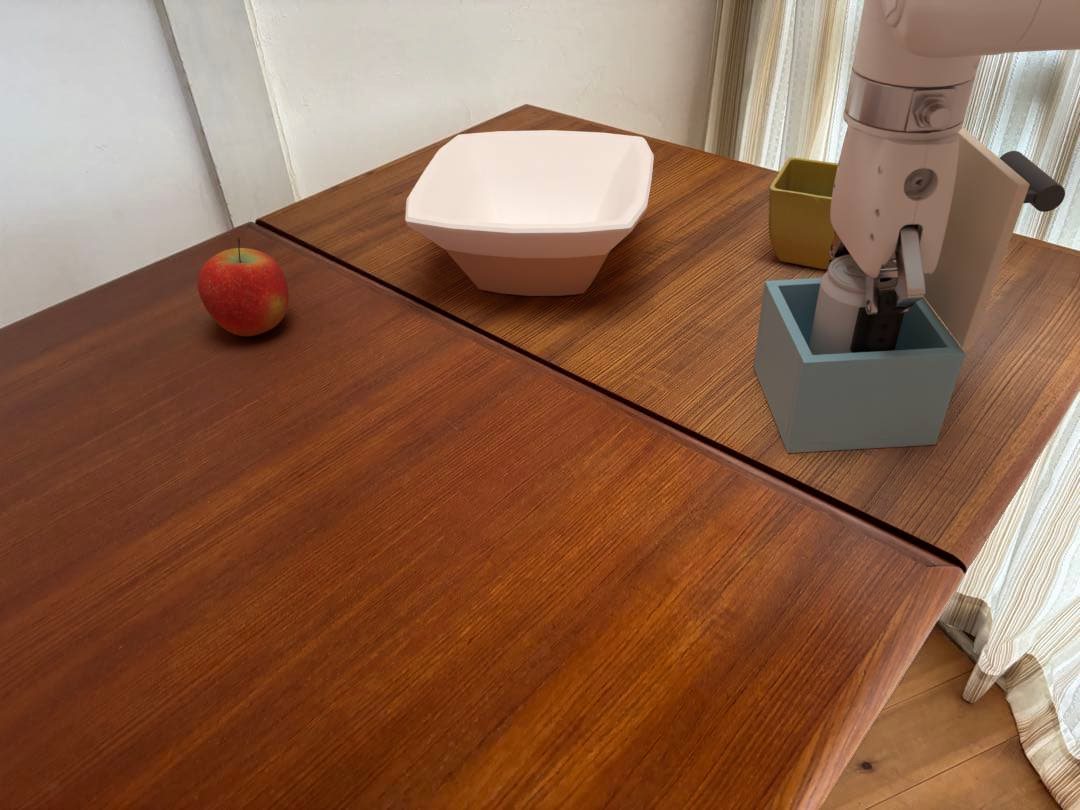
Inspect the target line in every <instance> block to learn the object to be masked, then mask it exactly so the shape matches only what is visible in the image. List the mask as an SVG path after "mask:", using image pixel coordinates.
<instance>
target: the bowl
mask: <svg viewBox="0 0 1080 810" xmlns="http://www.w3.org/2000/svg"><path fill="white" fill-rule="evenodd" d="M654 159H655V155H654V153H653V151H652V149H651V148H650V145H649V143H648V142H647V140H646V139H645V138H644V137H643V136H638V135H629V134H619V133H610V132H601V131H600V132H598V131H579V130H578V131H577V130H576V131H575V130H556V129H554V130H553V129H543V130H542V129H541V130H497V131H485V132H473V133H471V132H470V133H462V134H457V135H456V136H455V137H453V138H452V139H450V140H449V141H448V142H446V143H445V144H444V145H443V146H441V147H440V148H439V149H438V150H437V151H436V153H435V154H434V156H433V157H432V158H431V160H430V162H429V163H428V165H427V166H426V167H425V169H424V170H423V172H422V173H421V175H420V177H419V178H418V180H417V181H416V183H415V185H414V186H413V188H412V190H411V191H410V193H409V194H408V196H407V198H406V201H405V202H406V203H405V215H404V216H405V219H404V220H405V223H406V226H407V227H409V228H410V229H411V230H413V231H415V232H417V233H418V234H419V235H421V236H423V237H425V238H426V239H427V240H429V241H430V242H432V243H434V244H435V245H437V246H439V247H440V248H442V249H443V250H445V252H447V254H448V255H449V256H450V257H451V259H453V261H454V262H455V264H456V265H458V266H459V268H460V269H461V270H462V272H463V273H464V274H465V275H466V276H467V277H468V279H470V280H471V282H472V283H473V284H474V285H475V286H476V288H477V289H478V290H480V291H485V292H492V293H496V294H503V295H515V296H524V297H561V296H562V297H563V296H573V295H582V294H585V293H586V291H587V290H588V289H589V287H590V286H591V285H592V283H593V282H594V281H595V279H596V277H597V275H598V273H599V272H600V270H601V268H602V266H603V264H604V263H605V261H606V259H607V258H608V255H609V254H610V252H611V250H613V248H615V247H616V246H617V245H618V244H619V243H620V242H622V240H624V239H625V238H626V237H627V236H628V235H629V234H631V233H632V232H633V230H634V229H635V227H636V226H637V225H638V223H640V221H641V219H642V218H643V217H644V215H645V213H646V212H647V209H648V203H649V198H650V193H651V192H650V191H651V186H652V180H653V170H654V161H655V160H654Z"/></svg>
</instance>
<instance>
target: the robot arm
mask: <svg viewBox="0 0 1080 810" xmlns="http://www.w3.org/2000/svg"><path fill="white" fill-rule="evenodd" d="M862 4H863V5H862V11H861V16H860V17H861V18H860V20H859V21H860V22H859V27H858V33H857V40H856V44H855V49H854V55H853V62H852V66H851V71H850V78H849V83H848V89H847V93H846V100H845V106H844V110H843V115H842V117H843V121H844V122H845V124H846V125H847V127H846V131H845V134H844V139H843V142H842V146H841V151H840V155H839V158H838V162H837V163H838V167H837V172H836V177H835V182H834V187H833V193H832V200H831V208H830V219H831V223H832V226H833V228H834V231H835V236H834V238H833V240H832V243H831V245H830V256H831V258H838V257H841V256H844V255H849V254H851V256H852V257H853V259H854V260H855V262H856V263H857V264H858V266H859V267H860V268H861V270H862V271H864V272H865V273H866V299H865V307H860V308H859V311H858V316H857V320H856V325H855V329H854V334H853V338H852V343H851V347H850V350H851V352H852V353H859V352H876V351H894V350H895V348H896V344H897V340H898V336H899V332H900V328H901V324H902V321H903V317H904V313H907V312H908V311H909V308H910V307H912V306H913V305H914V303H916V302H917V301H919V300H920V299H922V298H925V297H924V296H925V292H926V290H925V281H924V275H931V274H932V273H933V272H934V271H935V269H936V267H937V264H938V260H939V257H940V253H941V249H942V244H943V240H944V236H945V231H946V227H947V222H948V217H949V212H950V208H951V202H952V197H953V191H954V185H955V178H956V170H957V161H958V148H959V137H958V135H957V134H956V133H957V132H959V131H960V130H961V129H962V127H964V123H965V119H966V114H967V110H968V107H969V103H970V99H971V95H972V91H973V88H974V84H975V81H976V76H977V73H978V69H979V66H980V62H981V58H982V56H984V57H985V56H997V55H1002V54H1009V53H1010V54H1011V53H1025V52H1027V53H1029V52H1031V53H1032V52H1049V51H1050V52H1051V51H1076V50H1077V51H1078V50H1079V51H1080V0H863V3H862ZM833 260H834V259H833ZM833 260H829V264H830V263H831V262H832V261H833ZM888 261H895V262H896V265H897V268H887V269H881V266H882V265H886V264H887V262H888ZM828 267H829V265H828ZM827 271H828V269H826V272H827ZM889 278H897V284H896V287H895V288H894V290H888V291H886V292H884V293H883V294H881V295H880V296H879V290H880V279H889Z"/></svg>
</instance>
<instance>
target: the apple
mask: <svg viewBox="0 0 1080 810" xmlns="http://www.w3.org/2000/svg"><path fill="white" fill-rule="evenodd" d="M240 245H241V237H240V236H238V237H237V247H234V248H229V249H225V250H222V251H220V252H218V253H216V254H215V255H213V256H211V257H210V258H209V259H208V260H207V261H206V262H205V263H204V264H203V266H202V267H201V269H200V271H199V274H198V276H197V292H198V295H199V298H200V300H201V302H202V304H203V306H204V308H205V310H206V311H207V313H208V314H209V315H210V316H211V318H212V319H213V320H214V321H215V322H216V323H217V324H218V325H219V326H220V327H221V328H223V329H224V330H226V331H227V332H229V333H231V334H233V335H236V336H240V337H253V336H257V335H258V336H259V335H261V334H264V333H267V332H269V331H270V330H273V329H274V328H275V327H277V326H278V325H279V324H280V322H281V321H282V320H283V318H284V317H285V315H286V312H287V310H288V306H289V288H288V282H287V279H286V276H285V274H284V272H283V270H282V268H281V267H280V265H279V264H278V263H277V261H276V260H275V259H274V258H272V257H271V256H270V255H268V254H267V253H265V252H263V251H260V250H257V249H253V248H246V247H241V246H240Z"/></svg>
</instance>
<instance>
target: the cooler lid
mask: <svg viewBox="0 0 1080 810" xmlns="http://www.w3.org/2000/svg"><path fill="white" fill-rule="evenodd" d="M956 134H957V135H958V137H959V148H958V161H957V170H956V178H955V185H954V191H953V197H952V202H951V208H950V212H949V217H948V222H947V227H946V231H945V236H944V240H943V244H942V249H941V253H940V257H939V260H938V264H937V267H936V269H935V271H934V272H933V273H932V274H931V275H924V281H925V290H926V292H925V296H924V297H923V298H924V299H925V300H926V302H927V303H928V304H929V306H930V307H931V308H932V310H933V311H934V312H935V314H936V315H937V316H938V318H939V319H940V320H941V322H942V323H943V324H944V326H945V327H946V328H947V330H948V331H949V332H950V334H951V335H952V336H953V338H954V339H955V340H956V342H957V343H958V344H959V346H960V347H961V348H962V349H970V348H973V347H974V344H975V341H976V339H977V335H978V333H979V331H980V327H981V324H982V321H983V319H984V316H985V313H986V311H987V308H988V304H989V302H990V298H991V296H992V293H993V290H994V287H995V285H996V283H997V279H998V276H999V274H1000V271H1001V268H1002V264H1003V262H1004V259H1005V257H1006V253H1007V250H1008V248H1009V244H1010V242H1011V240H1012V236H1013V233H1014V230H1015V228H1016V225H1017V223H1018V219H1019V216H1020V213H1021V211H1022V209H1023V205H1024V204H1030V205H1031V206H1032V207H1033V208H1034V209H1036V210H1037V211H1038V212H1042V213H1048V212H1051V211H1053V210H1055V209H1057V208H1058V207H1059V206H1060V205H1061V204H1062V203H1063V201H1064V200H1065V198H1066V190H1065V188H1064V187H1063V185H1061V184H1060V183H1059V182H1057V180H1055V179H1053V178H1052V177H1051V176H1050V175H1049V174H1048V173H1046V172H1045V171H1044V170H1043V169H1042V168H1040V167H1039V166H1038V165H1037V164H1035V163H1034V162H1033V161H1032V160H1031V159H1029V158H1028V157H1027V156H1025V155H1024V154H1023V153H1022V152H1021V151H1018V150H1010V151H1007V152H1005V153H1003V154H1002V155H1001V156H1000V157H999V156H997V154H995V153H994V152H993V151H992V150H991V149H989V148H988V147H987V146H986V145H985V144H983V143H982V142H981V141H980V140H979V139H978V138H977V137H976V136H975V135H973V134H972V133H971V132H970V131H969V130H967V129H966V128H965V127H964V126H962V129H961V130H960V131H959V132H957V133H956Z"/></svg>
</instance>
